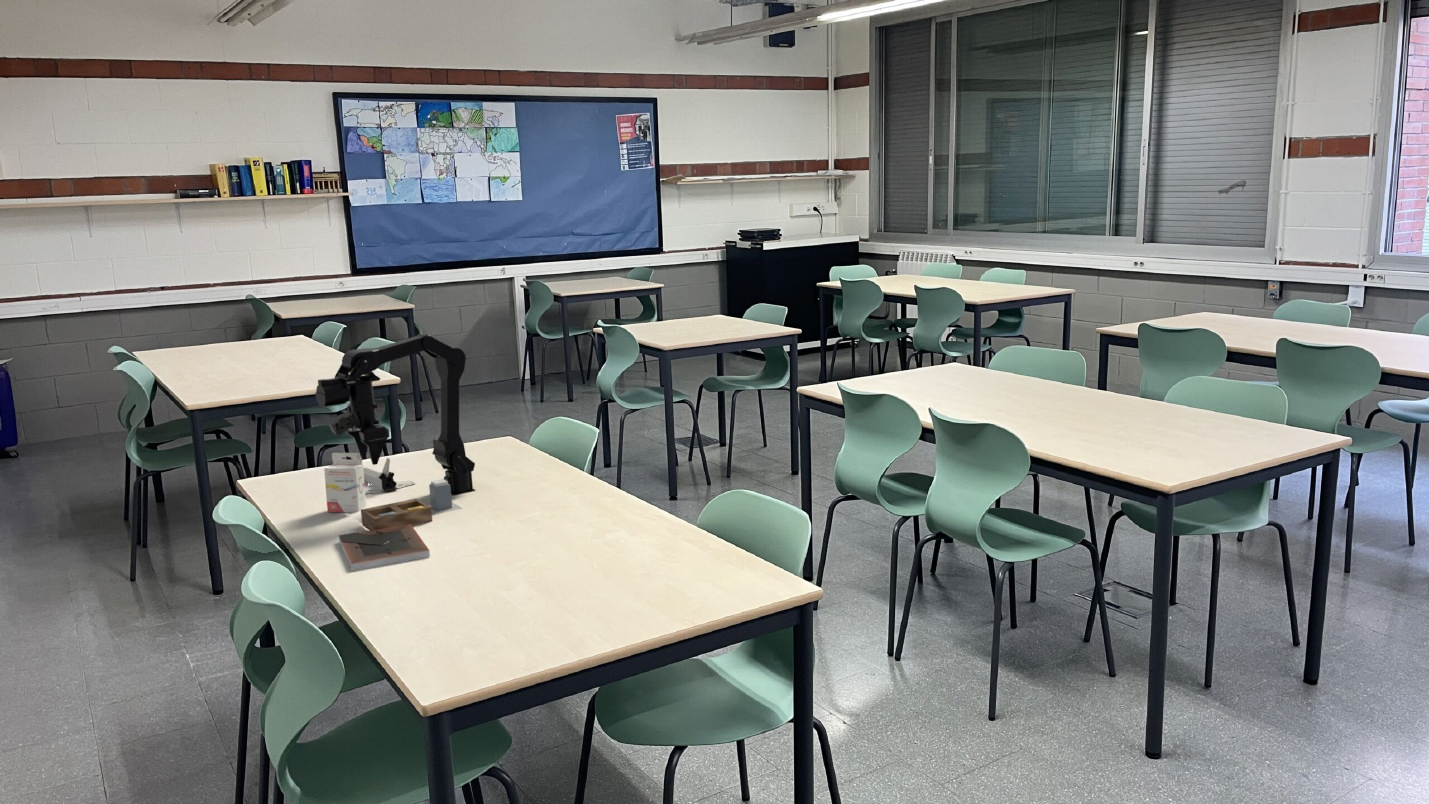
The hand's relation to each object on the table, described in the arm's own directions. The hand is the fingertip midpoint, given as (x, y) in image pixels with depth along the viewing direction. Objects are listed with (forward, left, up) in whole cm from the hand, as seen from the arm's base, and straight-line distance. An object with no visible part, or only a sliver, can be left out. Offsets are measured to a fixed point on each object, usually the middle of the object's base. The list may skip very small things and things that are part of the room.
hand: (369, 460), depth 258 cm
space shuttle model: (-10, -27, -14) cm, 33 cm away
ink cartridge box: (+5, -6, -14) cm, 16 cm away
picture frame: (+8, +30, -15) cm, 34 cm away
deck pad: (-14, +10, -14) cm, 22 cm away
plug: (-14, +10, -13) cm, 22 cm away
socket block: (-1, +14, -14) cm, 19 cm away
